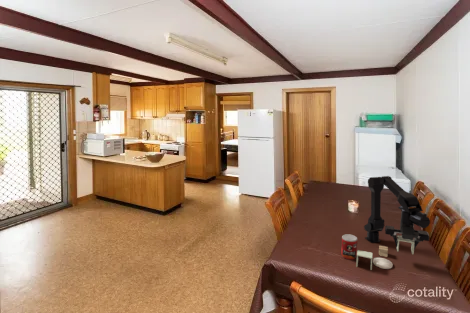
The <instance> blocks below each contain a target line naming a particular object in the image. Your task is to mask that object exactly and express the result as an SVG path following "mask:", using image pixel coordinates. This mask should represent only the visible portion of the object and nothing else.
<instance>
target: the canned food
mask: <svg viewBox="0 0 470 313" xmlns="http://www.w3.org/2000/svg"><path fill="white" fill-rule="evenodd" d="M357 250H358V237H357V236H355V235H353V234H349V233H348V234H346V233H345V234H343V235H342V236H341V254H340V255H341V257H342V258H344V259H347V260H355V259H357Z"/></svg>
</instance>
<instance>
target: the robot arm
mask: <svg viewBox="0 0 470 313" xmlns="http://www.w3.org/2000/svg"><path fill="white" fill-rule="evenodd" d="M367 186H368V189H369V190H370V193H371V194H370V196H371V197H370V198H371V199H370V204H371V205H370V209H371V210H370V216H369V217H368V219H367V223H366V224H364V226H363V228H364V229H363V230H365V231H366V236H365V237H364V239H366V240H367V241H368V242H369V243H379V242H382V240H380V232H383V231H384V234H385V235H389V236H390V237H392V238H393V240H394V245H395V248H397V234H401V236H402V238H403V239H410V240H413V239H414V242H415V243H414V250H416V248H417V246H418V244H420V242H424V241H426V242H428V241H430V234H429V232H428V231H426V230H421V229H419V230H417V229H415V228H414V227H415V225H416V226H417V227H420V228H422V229H425V228H426V229H427V228H428V227H429V226H430V223H431V219H430V218H429V217H428V214H427V213H424V212H423V209H422V206H421V203H420V202H419V199H418V197H417V196H415V195H414V194H412V193H411V192H408V191H405V190H404V189H403V188H402V187H401V186H400V185H399V184H398V183H397V182H395V180H393V179H392V177H391V176H390V175H382V176H371V177H369V178H368V179H367ZM385 187H386V188H387V189H388V190H389V191H390V192H391V193H392V194H393V195H394V196H395V197H396V198H397V200H396V201H397V202H398V204H399V205H400V206H398V207H397V208H398V209H399V210H401V212H400V222H399V223H400V224H399V226H400V227H399V229H398V228H395V226H393V225H385V219H383V218H382V216H381V212H382V211H381V210H382V209H381V208H382V207H381V206H382V204H381V201H382V200H381V198H382V197H381V196H382V195H381V193H382V191H383V190H384V188H385Z"/></svg>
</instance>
